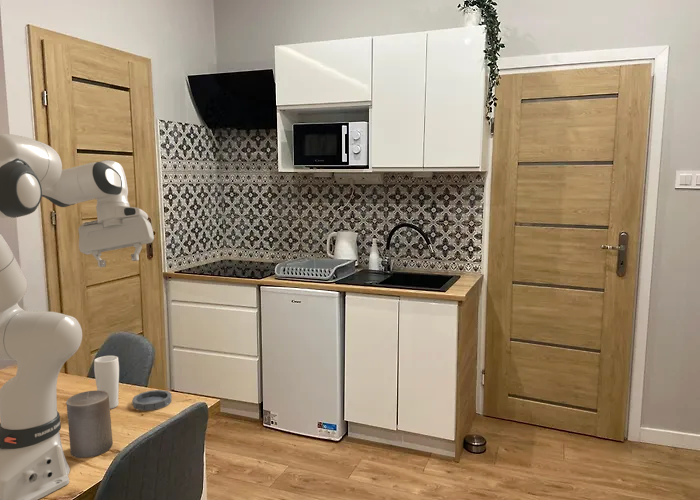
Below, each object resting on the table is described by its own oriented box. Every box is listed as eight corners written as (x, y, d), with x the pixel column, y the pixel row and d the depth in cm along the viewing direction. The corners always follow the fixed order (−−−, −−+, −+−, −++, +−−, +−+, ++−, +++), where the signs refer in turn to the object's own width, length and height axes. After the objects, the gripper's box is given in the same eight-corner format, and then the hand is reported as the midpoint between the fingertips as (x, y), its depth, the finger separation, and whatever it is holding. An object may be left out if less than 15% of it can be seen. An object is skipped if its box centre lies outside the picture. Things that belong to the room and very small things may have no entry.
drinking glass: (91, 408, 160) (88, 360, 159) (111, 400, 166) (108, 354, 164) (106, 412, 157) (103, 363, 155) (126, 404, 163) (123, 357, 161)
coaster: (156, 412, 157) (155, 406, 157) (125, 408, 160) (124, 401, 160) (178, 398, 168) (178, 392, 167) (149, 394, 171) (148, 388, 171)
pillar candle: (101, 436, 142) (97, 382, 140) (119, 447, 136) (115, 391, 134) (63, 450, 135) (58, 394, 133) (81, 463, 129) (75, 403, 127)
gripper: (72, 220, 149) (76, 268, 146) (144, 207, 149) (149, 254, 147) (83, 226, 155) (87, 272, 152) (153, 213, 156) (158, 259, 153)
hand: (118, 263), depth 149 cm, fingers open, 8 cm apart
